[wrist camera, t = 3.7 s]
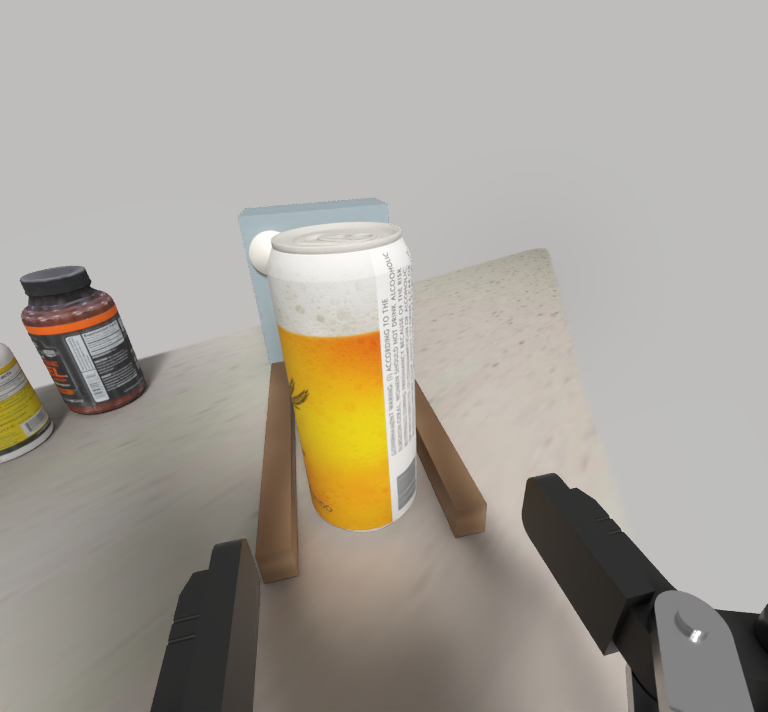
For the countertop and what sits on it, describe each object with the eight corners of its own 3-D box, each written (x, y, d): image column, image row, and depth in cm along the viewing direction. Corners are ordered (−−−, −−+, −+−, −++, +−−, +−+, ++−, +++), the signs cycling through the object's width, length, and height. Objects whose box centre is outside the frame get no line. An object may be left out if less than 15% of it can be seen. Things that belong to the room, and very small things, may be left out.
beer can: (347, 450, 26) (316, 219, 19) (432, 474, 24) (432, 221, 17) (292, 518, 22) (226, 245, 15) (391, 558, 19) (368, 252, 12)
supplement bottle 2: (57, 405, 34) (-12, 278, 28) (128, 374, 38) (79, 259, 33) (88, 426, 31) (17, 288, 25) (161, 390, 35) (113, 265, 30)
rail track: (264, 583, 18) (255, 556, 17) (275, 382, 35) (271, 363, 34) (484, 531, 20) (486, 504, 19) (396, 363, 37) (395, 344, 36)
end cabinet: (271, 375, 36) (236, 217, 30) (274, 346, 42) (245, 208, 35) (396, 356, 38) (389, 204, 32) (382, 330, 44) (374, 197, 37)
